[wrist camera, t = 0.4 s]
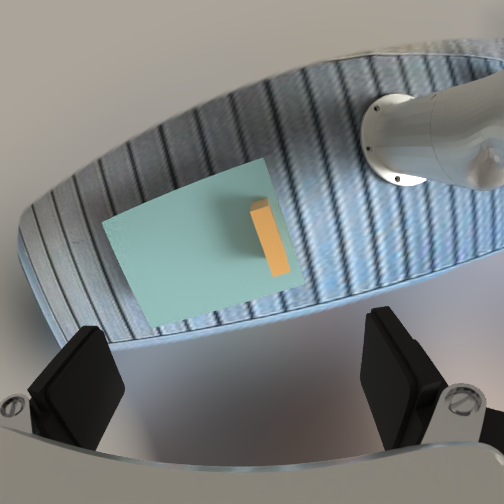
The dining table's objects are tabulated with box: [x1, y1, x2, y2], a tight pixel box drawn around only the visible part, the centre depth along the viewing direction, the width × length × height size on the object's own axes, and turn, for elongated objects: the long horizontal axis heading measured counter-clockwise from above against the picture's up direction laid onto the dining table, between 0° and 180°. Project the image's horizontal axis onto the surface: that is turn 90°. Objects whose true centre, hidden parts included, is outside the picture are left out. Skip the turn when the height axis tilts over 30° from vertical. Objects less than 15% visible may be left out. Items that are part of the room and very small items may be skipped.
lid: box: [102, 158, 305, 328], centre depth 30 cm, size 19×14×8 cm
